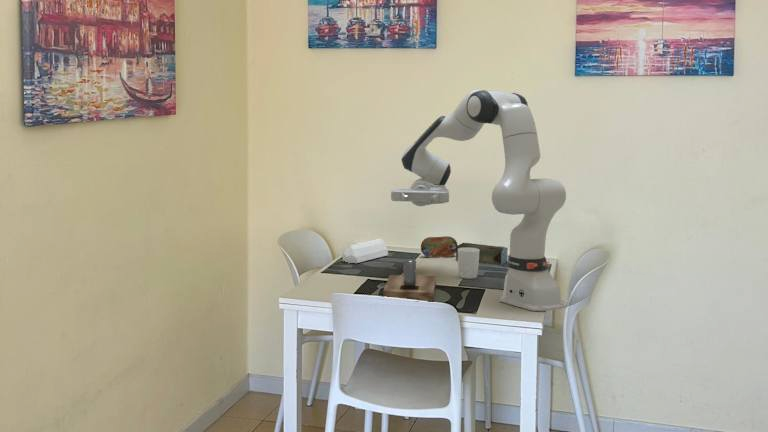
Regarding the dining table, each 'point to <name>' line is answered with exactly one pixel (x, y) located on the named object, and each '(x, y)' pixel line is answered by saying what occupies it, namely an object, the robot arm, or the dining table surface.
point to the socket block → (422, 292)
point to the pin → (409, 274)
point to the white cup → (468, 262)
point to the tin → (439, 247)
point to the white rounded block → (365, 251)
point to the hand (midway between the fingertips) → (419, 198)
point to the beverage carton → (487, 253)
